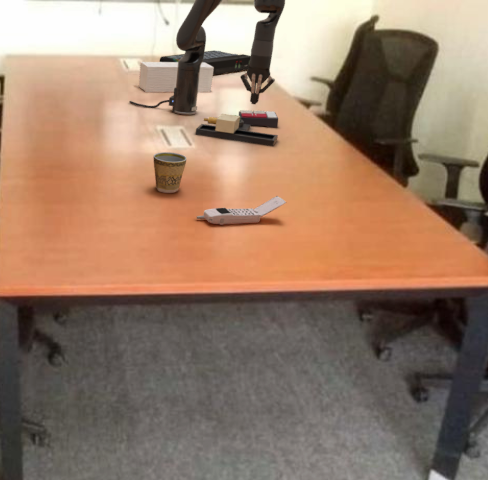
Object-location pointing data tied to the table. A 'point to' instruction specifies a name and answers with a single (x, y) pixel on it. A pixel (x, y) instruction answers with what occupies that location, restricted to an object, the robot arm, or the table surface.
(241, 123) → the button box
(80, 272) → the table surface
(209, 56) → the computer keyboard
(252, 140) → the rail
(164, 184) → the ceramic cup
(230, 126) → the nozzle carriage
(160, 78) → the stack of papers
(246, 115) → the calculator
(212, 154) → the table surface
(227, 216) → the mobile phone
